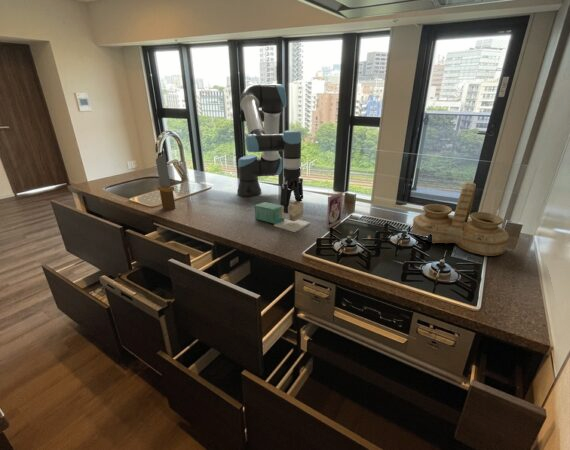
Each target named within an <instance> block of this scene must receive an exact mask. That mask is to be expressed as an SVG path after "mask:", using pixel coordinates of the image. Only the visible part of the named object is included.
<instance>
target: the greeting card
mask: <svg viewBox="0 0 570 450" xmlns="http://www.w3.org/2000/svg"><path fill="white" fill-rule="evenodd" d="M343 194H344V193H343V191H341V192H338V193H335V194H333V195H331V196H329V190H328V192H327V213H326V229H329V228H332V227H333V226H335V225H337V224H339V223H341V220H342V208H343V207H342V206H343Z"/></svg>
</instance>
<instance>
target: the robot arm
mask: <svg viewBox="0 0 570 450" xmlns="http://www.w3.org/2000/svg"><path fill="white" fill-rule="evenodd" d="M239 103H240V108H241V110H242V112H243V114H244V119H245V123H246V128H247V135H246V136H245V147H246V151H247V152H249V153H261V154H260V156H259V157H258V155H256V154H248V155H244V156H242V157H240V158H238V161H237V167H238V178H239V182H238V186H237V187H238V188H237V191H236V194H237V195H238V196H240V197H245V198H246V197H257V196H260V195H261V194H262V188H261V186H260V183H259V177H270V176H271V177H274V176H275V177H276V176H279V175H280V174H281V173H282V170H283V177H284V178H285V180H284V183H282V182H281V183H280V202H279V203H280V204H279V205H281V206H284V220H285V219H287V220H290V206H289V202H290V200H291V196H292V192H293V196H294V199H295V200H294V201H298V202H302V203H303V199H304V187H303V182H304V181H303V180H304V179H303V178H302V177H301V173H302V171H301V169H302V168H301V167H302V165H301V164H302V156H301V155H302V133H301V131H300V130H296V129H295V130H293V129H292V130H284V131H283V132H281V133H279V132H280V116H281V114H282V113H283V111H284V110H283V109H285V108H286V107H287V103H288V102H287V92H286V89H285V87H284V85H283V84H281V83H252V84H251V85H248V86H247V87H246V88H245V89H243V90H242V93H241V95H240V97H239ZM260 109H261V112H262V114H263V117H264V118H262V117H261V112H260ZM262 119H263V120H262ZM279 152H283V157H281V154H280V153H279ZM286 203H287V204H286Z"/></svg>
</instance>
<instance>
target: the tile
mask: <svg viewBox="0 0 570 450" xmlns="http://www.w3.org/2000/svg"><path fill="white" fill-rule="evenodd" d="M310 223H311V222H310V221H305V220H302V219H298V220H296V221H291V220H287V219H284V220H283V221H281V222H278V223H276V224H273V226H274V227H277V228H279V229H282V230H286V231H290V232H294V233H297V232H298V231H300V230H302V229H304V228H306V227H307V226H309V225H310Z"/></svg>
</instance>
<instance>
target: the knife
mask: <svg viewBox="0 0 570 450" xmlns="http://www.w3.org/2000/svg"><path fill="white" fill-rule="evenodd" d="M167 162H168V161H167V156H166V153H162V154H161V155H160V156H158V157H157V158H155V163H156V169H157V175H158V180H159V185H157V187H156V188H157V191H159V193H160V194H159V195H160V200H161V207H162V209H166V210H170V211H172V210H175V209H176V204H175V203H176V202H175V197H174V191H175V186H172V185H171V182H170V174H169V168H168V163H167Z"/></svg>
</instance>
